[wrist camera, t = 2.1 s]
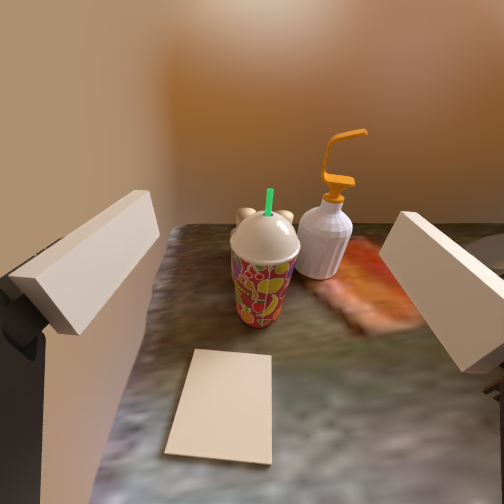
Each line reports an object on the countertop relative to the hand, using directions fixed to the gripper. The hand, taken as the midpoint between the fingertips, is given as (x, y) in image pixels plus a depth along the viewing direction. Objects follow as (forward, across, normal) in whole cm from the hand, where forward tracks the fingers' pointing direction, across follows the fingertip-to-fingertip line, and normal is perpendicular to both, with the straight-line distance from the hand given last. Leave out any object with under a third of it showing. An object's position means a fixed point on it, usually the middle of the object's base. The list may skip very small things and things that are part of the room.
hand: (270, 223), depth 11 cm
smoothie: (+11, 0, -22) cm, 25 cm away
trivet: (-1, -2, -22) cm, 22 cm away
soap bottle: (+24, +12, -22) cm, 34 cm away
